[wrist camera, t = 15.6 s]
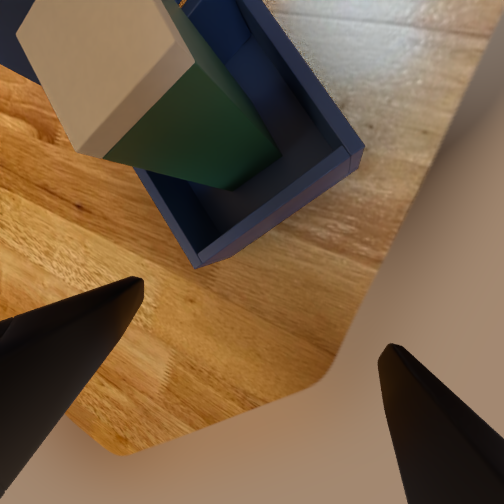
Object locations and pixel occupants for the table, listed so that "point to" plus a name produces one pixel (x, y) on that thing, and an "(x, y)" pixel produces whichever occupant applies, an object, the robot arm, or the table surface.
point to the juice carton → (145, 90)
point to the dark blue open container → (278, 124)
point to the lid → (6, 42)
